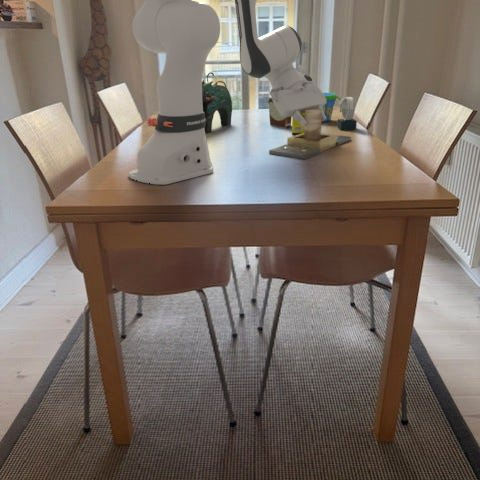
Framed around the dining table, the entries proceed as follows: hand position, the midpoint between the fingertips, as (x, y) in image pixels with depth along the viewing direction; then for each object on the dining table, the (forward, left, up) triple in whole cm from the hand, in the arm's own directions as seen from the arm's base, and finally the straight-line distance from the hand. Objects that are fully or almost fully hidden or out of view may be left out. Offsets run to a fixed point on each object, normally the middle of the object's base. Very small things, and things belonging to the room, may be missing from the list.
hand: (314, 122), depth 134 cm
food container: (+24, +27, -8) cm, 37 cm away
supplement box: (+15, +14, -8) cm, 22 cm away
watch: (+31, +4, -8) cm, 32 cm away
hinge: (0, +1, -7) cm, 7 cm away
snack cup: (+40, +20, -8) cm, 45 cm away
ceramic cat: (+6, +46, -8) cm, 47 cm away
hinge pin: (0, +1, -7) cm, 7 cm away
